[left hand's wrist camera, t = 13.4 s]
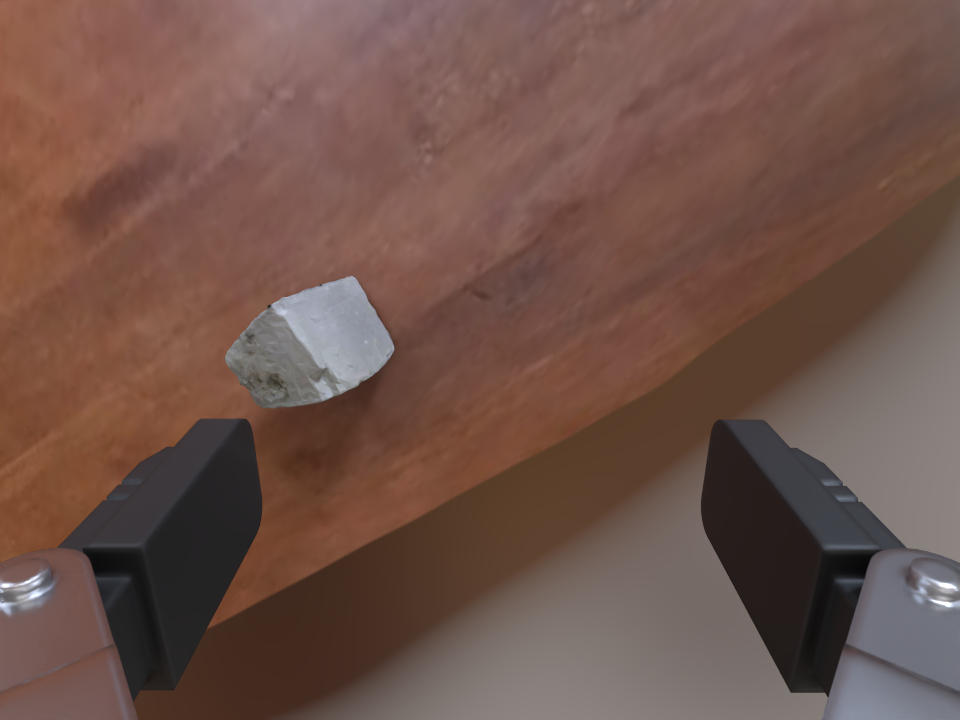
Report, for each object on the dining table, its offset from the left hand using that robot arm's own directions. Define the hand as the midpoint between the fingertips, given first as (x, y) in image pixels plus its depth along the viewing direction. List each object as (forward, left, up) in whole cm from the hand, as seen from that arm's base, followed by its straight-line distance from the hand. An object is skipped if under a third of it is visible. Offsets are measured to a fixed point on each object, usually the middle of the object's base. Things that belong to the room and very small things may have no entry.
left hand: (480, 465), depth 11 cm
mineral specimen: (-12, +2, -30) cm, 32 cm away
